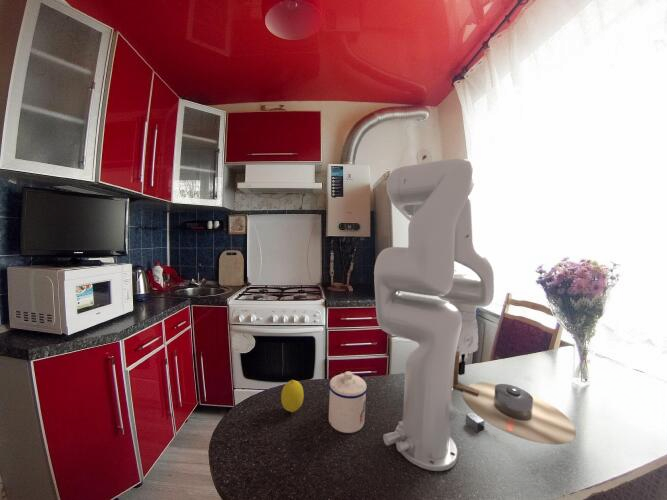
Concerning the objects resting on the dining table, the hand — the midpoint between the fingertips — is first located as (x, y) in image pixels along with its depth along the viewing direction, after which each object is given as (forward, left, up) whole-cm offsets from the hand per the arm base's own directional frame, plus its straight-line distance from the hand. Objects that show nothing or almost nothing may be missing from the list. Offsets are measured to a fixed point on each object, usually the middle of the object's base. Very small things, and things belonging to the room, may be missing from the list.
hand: (458, 372), depth 78 cm
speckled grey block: (-12, -15, -4) cm, 20 cm away
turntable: (+1, -13, -3) cm, 14 cm away
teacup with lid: (-40, -1, -4) cm, 40 cm away
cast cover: (+1, -16, -2) cm, 16 cm away
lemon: (-52, +5, -4) cm, 52 cm away
